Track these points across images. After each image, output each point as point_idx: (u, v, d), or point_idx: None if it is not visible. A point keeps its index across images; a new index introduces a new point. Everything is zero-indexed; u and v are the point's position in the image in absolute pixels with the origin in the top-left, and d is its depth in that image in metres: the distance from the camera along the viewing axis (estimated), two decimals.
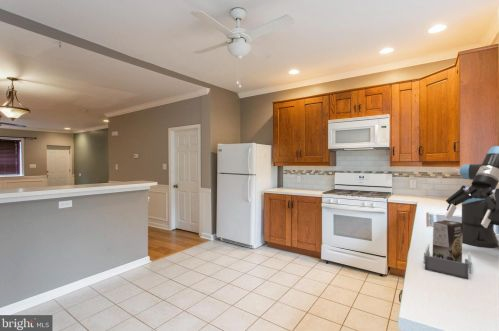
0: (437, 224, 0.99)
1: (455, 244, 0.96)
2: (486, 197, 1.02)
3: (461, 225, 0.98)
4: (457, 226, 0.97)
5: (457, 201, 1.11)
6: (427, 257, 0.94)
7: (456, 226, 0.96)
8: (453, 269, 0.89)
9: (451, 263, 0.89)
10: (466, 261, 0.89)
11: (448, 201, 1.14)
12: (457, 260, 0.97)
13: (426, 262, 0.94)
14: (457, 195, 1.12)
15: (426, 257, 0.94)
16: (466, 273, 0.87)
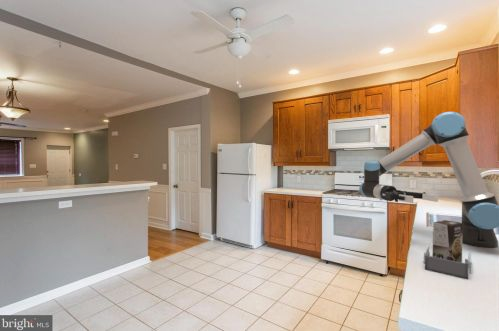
0: (437, 224, 0.99)
1: (455, 244, 0.96)
2: None
3: (461, 225, 0.98)
4: (457, 226, 0.97)
5: (417, 197, 1.18)
6: (427, 257, 0.94)
7: (456, 226, 0.96)
8: (453, 269, 0.89)
9: (451, 263, 0.89)
10: (466, 261, 0.89)
11: None
12: (457, 260, 0.97)
13: (426, 262, 0.94)
14: None
15: (426, 257, 0.94)
16: (466, 273, 0.87)
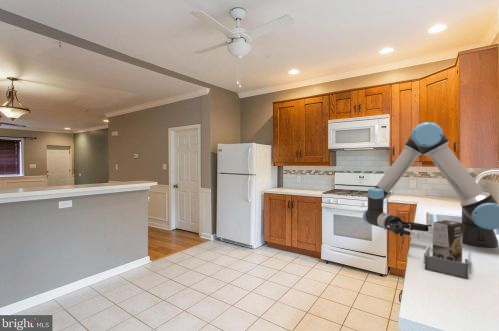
0: (437, 224, 0.99)
1: (455, 244, 0.96)
2: None
3: (461, 225, 0.98)
4: (457, 226, 0.97)
5: (423, 229, 1.15)
6: (427, 257, 0.94)
7: (456, 226, 0.96)
8: (453, 269, 0.89)
9: (451, 263, 0.89)
10: (466, 261, 0.89)
11: None
12: (457, 260, 0.97)
13: (426, 262, 0.94)
14: None
15: (426, 257, 0.94)
16: (466, 273, 0.87)
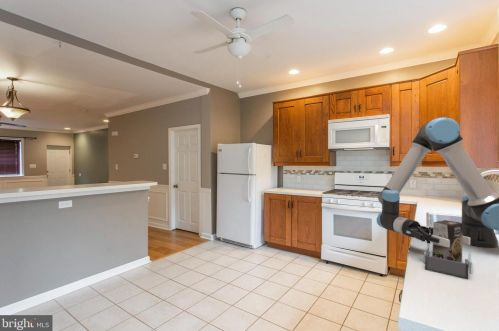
0: (437, 224, 0.99)
1: (455, 243, 0.96)
2: None
3: (461, 225, 0.98)
4: (457, 226, 0.97)
5: None
6: (427, 257, 0.94)
7: (456, 226, 0.96)
8: (453, 269, 0.89)
9: (451, 263, 0.89)
10: (466, 261, 0.89)
11: None
12: (457, 260, 0.97)
13: (426, 262, 0.94)
14: None
15: (426, 257, 0.94)
16: (466, 273, 0.87)
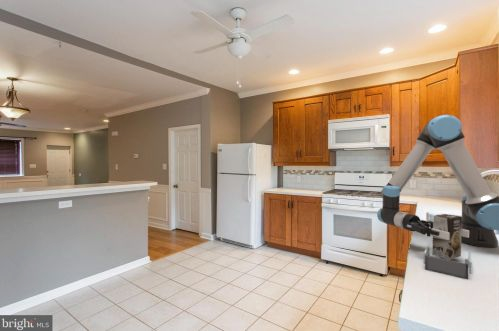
0: (437, 217, 1.02)
1: (454, 236, 0.99)
2: None
3: (460, 218, 1.01)
4: (456, 219, 0.99)
5: None
6: (427, 257, 0.94)
7: (455, 219, 0.99)
8: (453, 269, 0.89)
9: (451, 263, 0.89)
10: (466, 261, 0.89)
11: None
12: (456, 252, 1.00)
13: (426, 262, 0.94)
14: None
15: (426, 257, 0.94)
16: (466, 273, 0.87)
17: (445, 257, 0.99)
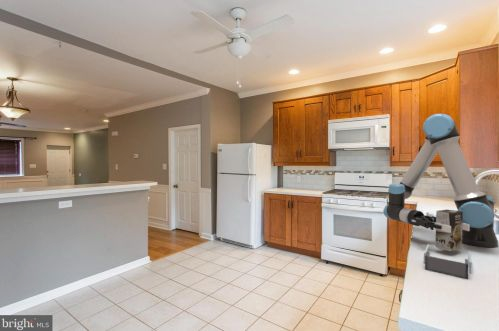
0: (439, 212, 1.10)
1: (456, 230, 1.08)
2: None
3: (461, 213, 1.10)
4: (457, 214, 1.08)
5: None
6: (427, 257, 0.94)
7: (457, 214, 1.08)
8: (453, 269, 0.89)
9: (451, 263, 0.89)
10: (466, 261, 0.89)
11: None
12: (457, 244, 1.09)
13: (426, 262, 0.94)
14: None
15: (426, 257, 0.94)
16: (466, 273, 0.87)
17: (447, 249, 1.08)
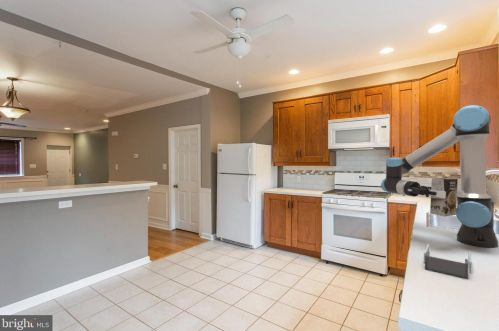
0: (435, 179, 1.13)
1: (450, 196, 1.10)
2: None
3: (456, 180, 1.12)
4: (452, 181, 1.10)
5: None
6: (427, 257, 0.94)
7: (451, 180, 1.10)
8: (453, 269, 0.89)
9: (451, 263, 0.89)
10: (466, 261, 0.89)
11: None
12: (452, 211, 1.11)
13: (426, 262, 0.94)
14: None
15: (426, 257, 0.94)
16: (466, 273, 0.87)
17: (441, 214, 1.10)
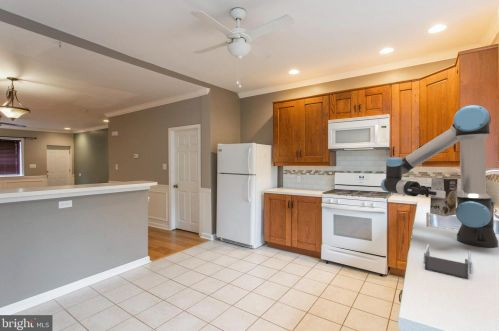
0: (435, 179, 1.13)
1: (450, 195, 1.10)
2: None
3: (456, 180, 1.12)
4: (452, 180, 1.10)
5: None
6: (427, 257, 0.94)
7: (451, 180, 1.10)
8: (453, 269, 0.89)
9: (451, 263, 0.89)
10: (466, 261, 0.89)
11: None
12: (452, 210, 1.11)
13: (426, 262, 0.94)
14: None
15: (426, 257, 0.94)
16: (466, 273, 0.87)
17: (441, 214, 1.10)
